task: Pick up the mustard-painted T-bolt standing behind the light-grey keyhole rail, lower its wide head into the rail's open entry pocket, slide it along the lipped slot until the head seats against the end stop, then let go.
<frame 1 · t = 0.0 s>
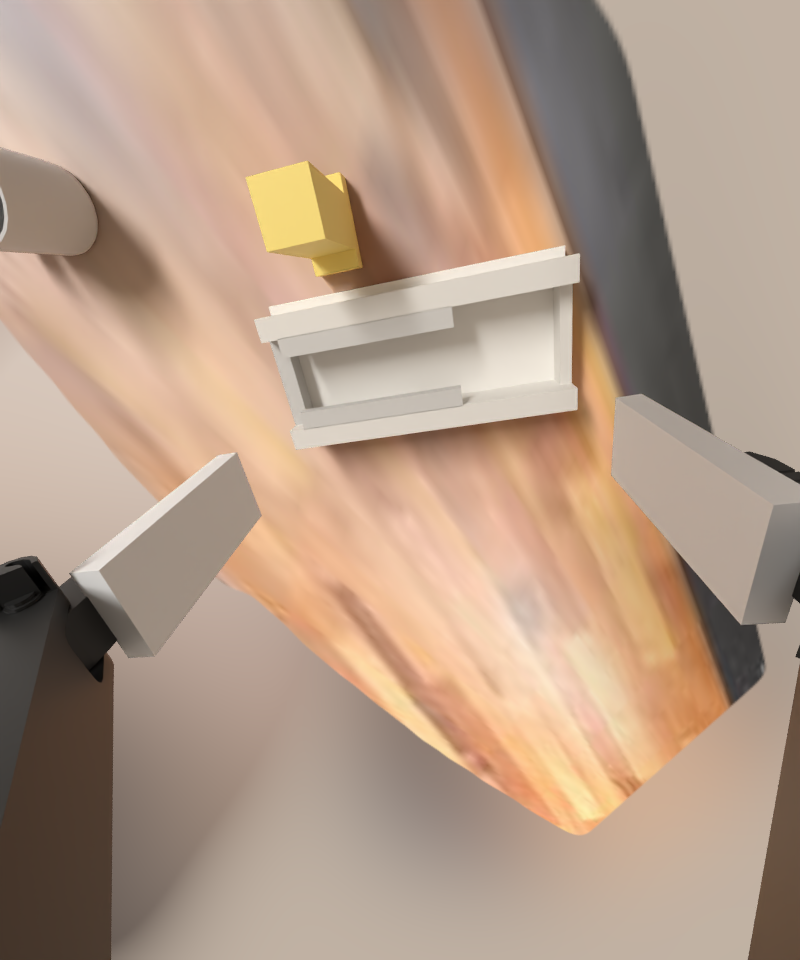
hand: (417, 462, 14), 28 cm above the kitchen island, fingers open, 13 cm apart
keyhole rail: (420, 355, 39), on the kitchen island
cup: (53, 217, 37), on the kitchen island
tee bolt: (332, 229, 35), on the kitchen island
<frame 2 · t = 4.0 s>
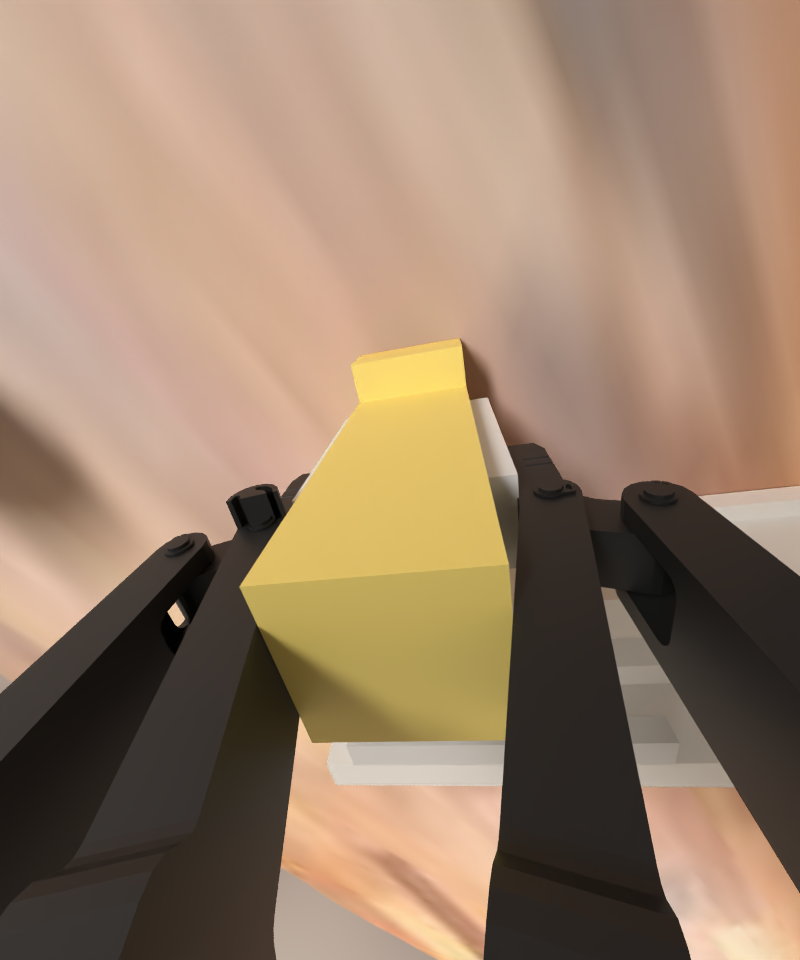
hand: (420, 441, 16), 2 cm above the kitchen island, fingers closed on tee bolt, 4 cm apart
keyhole rail: (565, 619, 21), on the kitchen island
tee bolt: (422, 427, 17), on the kitchen island, touching gripper
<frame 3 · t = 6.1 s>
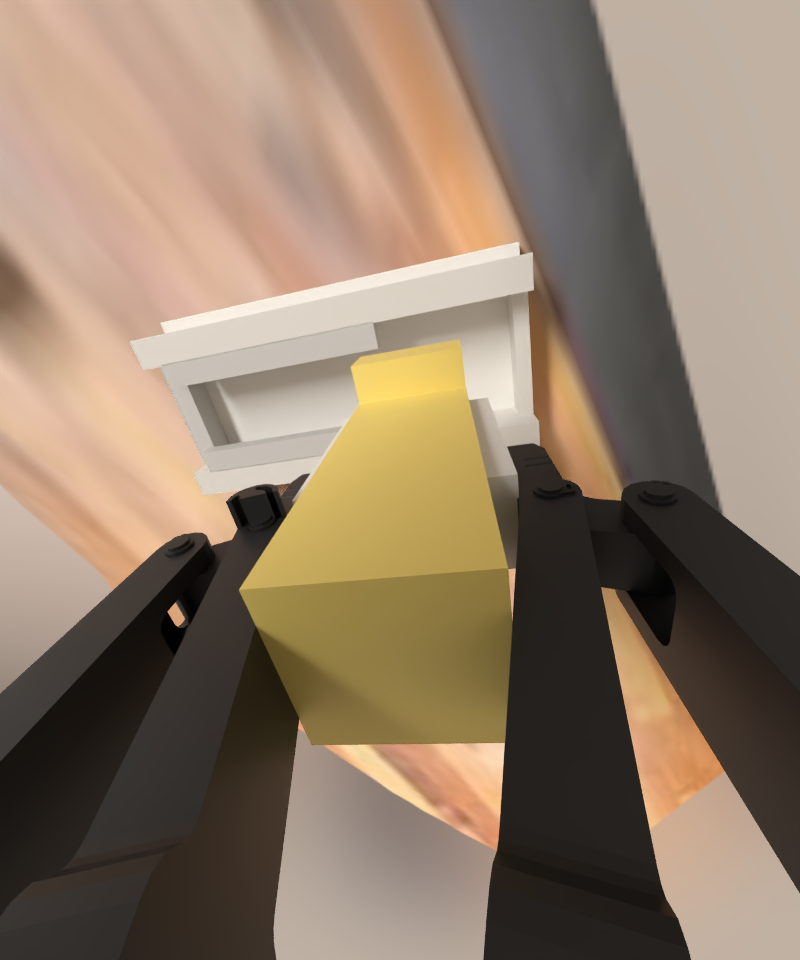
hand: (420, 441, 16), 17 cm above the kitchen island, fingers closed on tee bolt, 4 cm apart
keyhole rail: (352, 378, 32), on the kitchen island
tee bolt: (422, 428, 17), point 16 cm above the kitchen island, touching gripper
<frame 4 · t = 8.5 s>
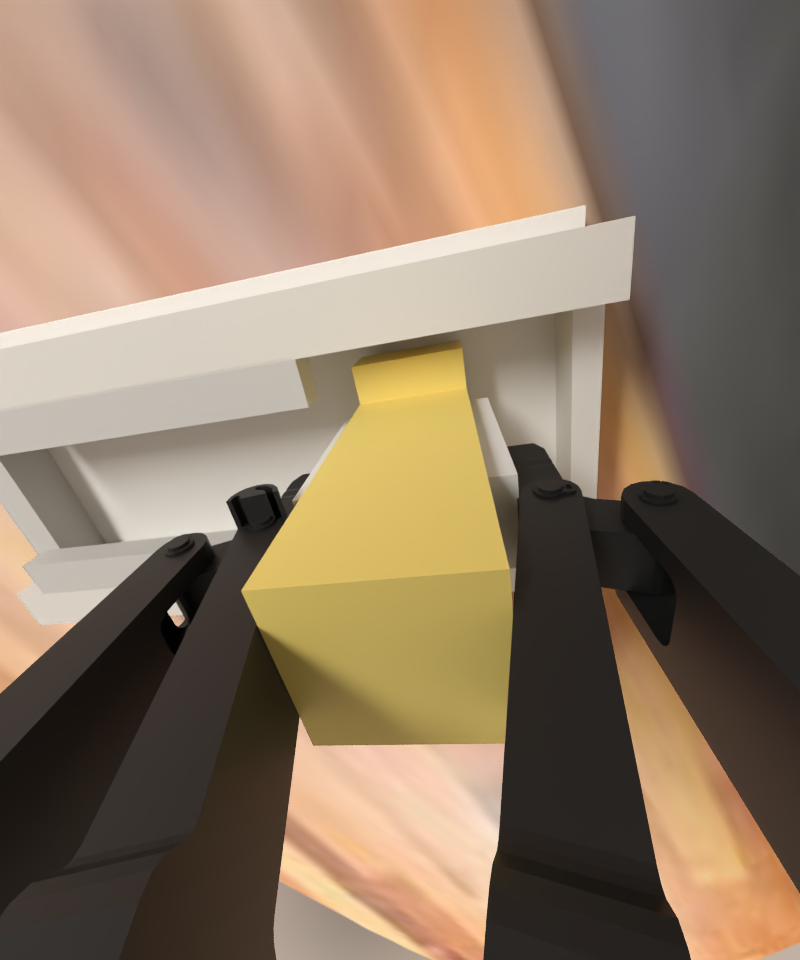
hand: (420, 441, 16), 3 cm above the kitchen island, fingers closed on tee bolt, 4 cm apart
keyhole rail: (286, 439, 19), on the kitchen island
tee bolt: (422, 428, 17), point 1 cm above the kitchen island, touching gripper
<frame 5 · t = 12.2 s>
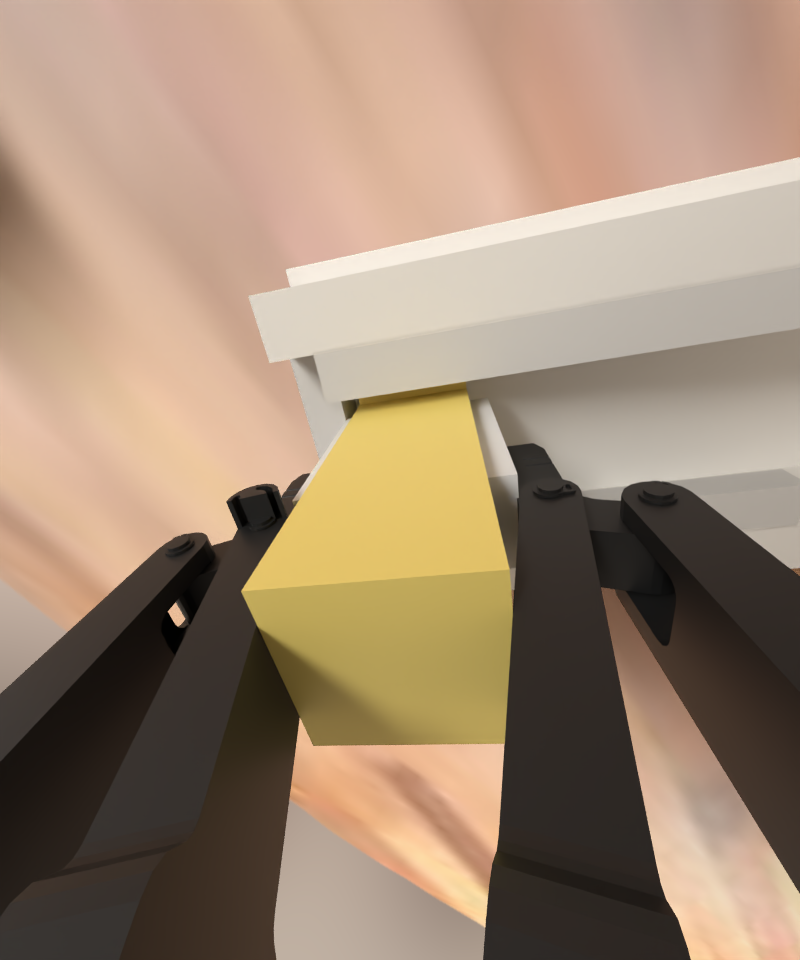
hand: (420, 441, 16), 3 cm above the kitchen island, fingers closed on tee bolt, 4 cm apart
keyhole rail: (636, 387, 17), on the kitchen island
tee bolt: (422, 428, 17), point 1 cm above the kitchen island, touching gripper
when the fingers open (3 cm above the kitchen island, at t = 13.1 s): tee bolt stays where it is, resting on keyhole rail.
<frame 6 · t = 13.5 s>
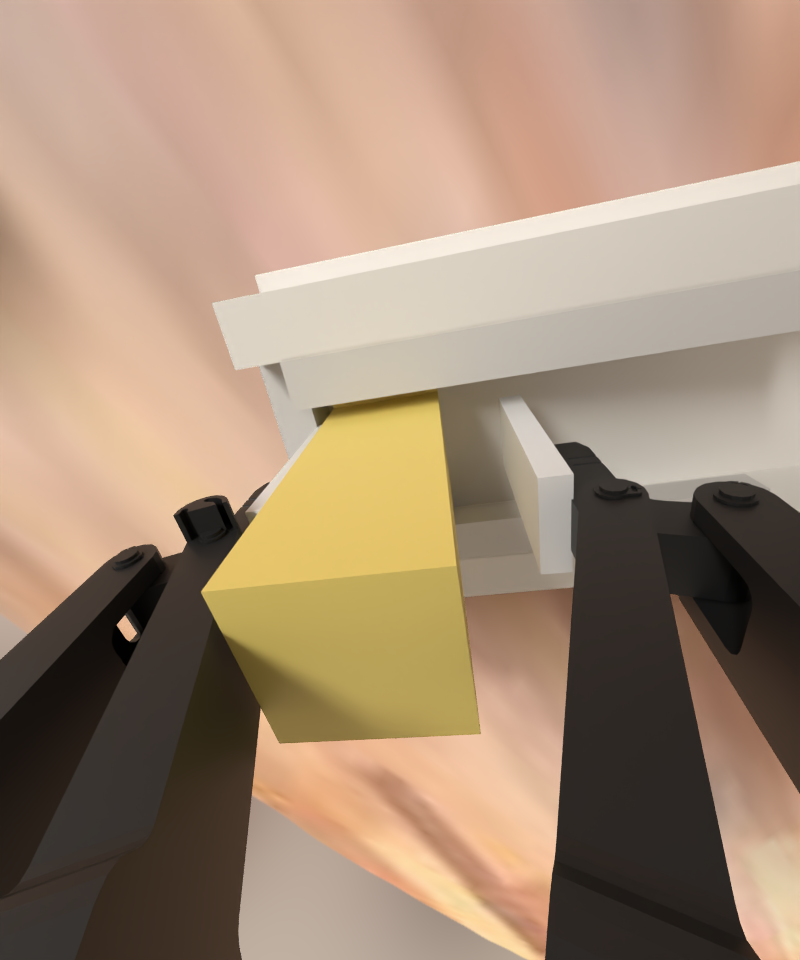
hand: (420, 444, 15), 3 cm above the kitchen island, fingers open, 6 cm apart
keyhole rail: (606, 393, 17), on the kitchen island
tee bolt: (397, 432, 17), point 1 cm above the kitchen island, touching keyhole rail
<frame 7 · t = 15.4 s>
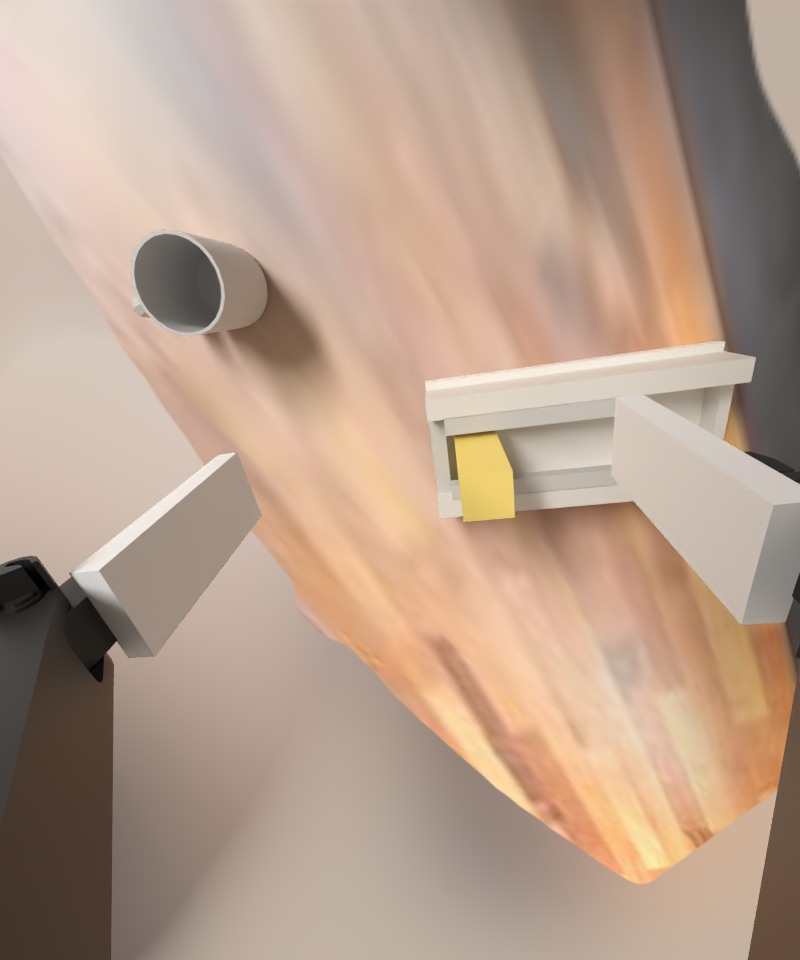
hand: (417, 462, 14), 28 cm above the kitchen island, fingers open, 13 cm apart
keyhole rail: (563, 430, 41), on the kitchen island
cup: (221, 292, 38), on the kitchen island
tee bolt: (474, 444, 41), point 1 cm above the kitchen island, touching keyhole rail
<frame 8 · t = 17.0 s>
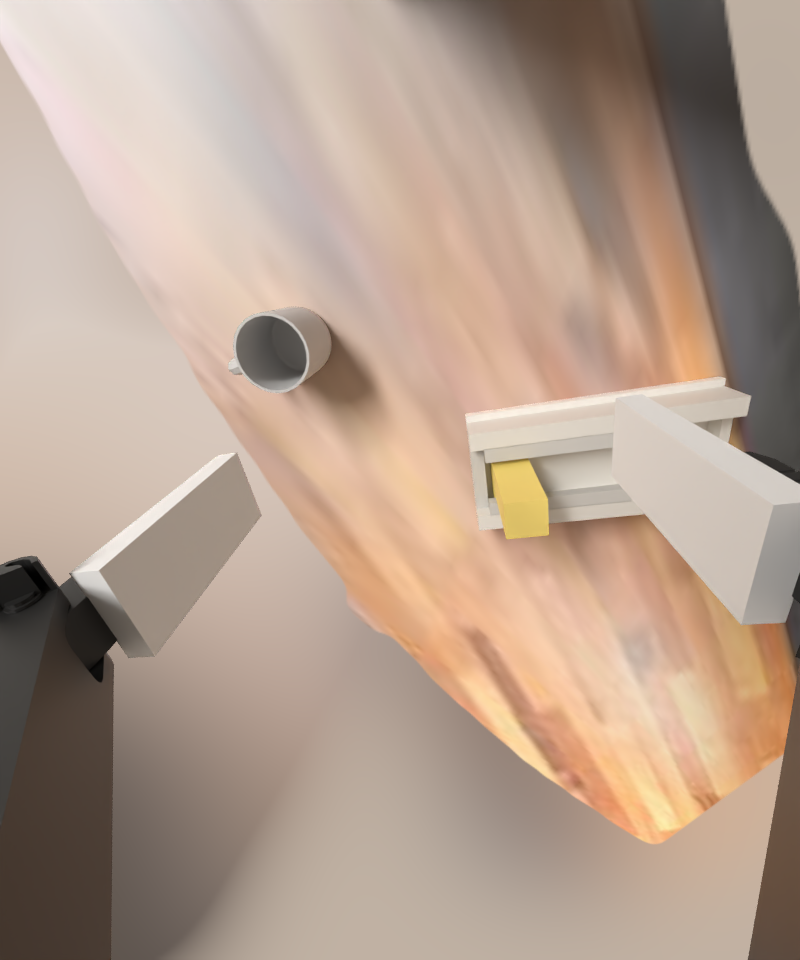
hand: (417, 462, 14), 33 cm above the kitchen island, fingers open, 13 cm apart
keyhole rail: (584, 452, 47), on the kitchen island
cup: (291, 344, 45), on the kitchen island
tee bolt: (507, 466, 48), point 1 cm above the kitchen island, touching keyhole rail
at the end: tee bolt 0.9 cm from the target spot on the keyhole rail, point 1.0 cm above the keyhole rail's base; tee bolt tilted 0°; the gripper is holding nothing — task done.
